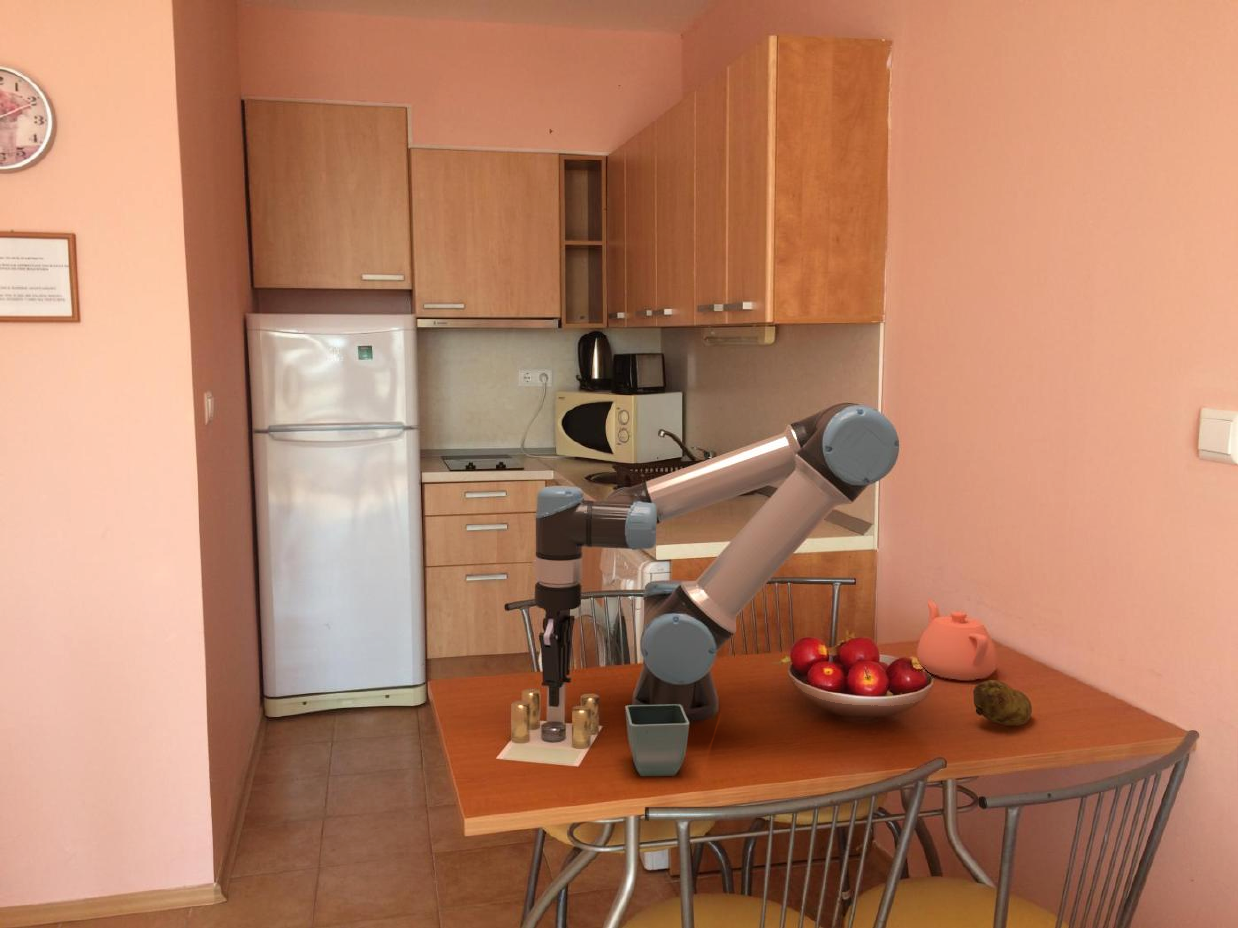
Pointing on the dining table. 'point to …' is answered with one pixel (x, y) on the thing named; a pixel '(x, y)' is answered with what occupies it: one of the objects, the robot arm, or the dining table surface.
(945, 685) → the dining table surface
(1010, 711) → the potato
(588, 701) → the cylinder
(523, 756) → the board
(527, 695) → the cylinder
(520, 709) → the cylinder
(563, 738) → the dark metal puck
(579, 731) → the cylinder
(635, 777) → the dining table surface
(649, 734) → the flower pot
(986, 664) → the teapot
